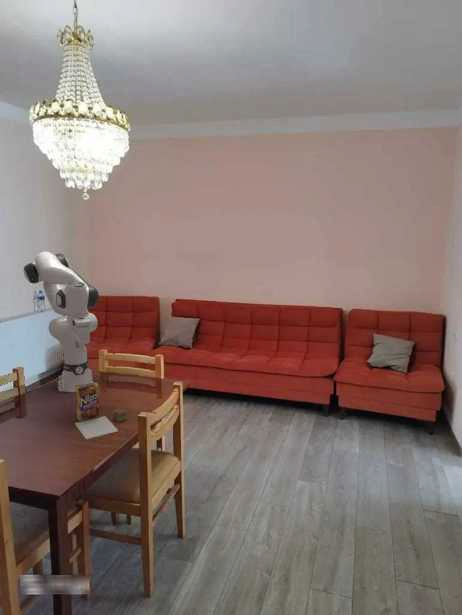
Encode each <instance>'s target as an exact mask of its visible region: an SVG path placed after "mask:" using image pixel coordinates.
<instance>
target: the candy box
mask: <svg viewBox="0 0 462 615" xmlns="http://www.w3.org/2000/svg"><path fill="white" fill-rule="evenodd" d="M93 382H94V383H89V384H83V385H77V386H76V392H75V404H76V406H75V407H76V419H77V420H78V422H82V421H86V420H91V419H95V418H99V417H100V403H99V402H100V401H99V400H100V398H99V396H100V395H99V383H97V382H96V381H93Z"/></svg>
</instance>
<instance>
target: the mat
mask: <svg viewBox="0 0 462 615" xmlns="http://www.w3.org/2000/svg"><path fill="white" fill-rule="evenodd" d="M74 425H75V426H76V428H77V429H78V430H79V432H80V433H81V435H82V436H83V438H84V439H85V440H91V439H95V438H98V437H103V436H106V435H111V434H115V433H118V432H119V430H118V428H117V427H116V426H115V425H114V424H113V423H112V422H111V421H110V420H109V418H107V416H106V415H103V416H99V417H97V418H92V419H88V420H83V421H78V422H75V423H74Z"/></svg>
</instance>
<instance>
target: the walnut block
mask: <svg viewBox="0 0 462 615" xmlns="http://www.w3.org/2000/svg"><path fill="white" fill-rule="evenodd" d="M112 420H113V421H114V422H115V421H116V422H117V423H121V422H123V421H125V420H127V410H125V409H122V408H119V409H116V410H113V411H112Z"/></svg>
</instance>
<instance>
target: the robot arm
mask: <svg viewBox="0 0 462 615" xmlns="http://www.w3.org/2000/svg"><path fill="white" fill-rule="evenodd" d="M23 276H24V277H25V279H26V280H27V281H28V283H31V284H38V283H40V282H42V287H43V290H44V294H45V296H46V298H47V300H48V302H49V305H50V306H51V308H52V310H53V312H54V313H56V314H57V315H60V316H58V317H55V318H54V319H51V320H50V321H49V324H48V332H49V334H50V336H52V337H53V338H54V339H56V341H58V342H59V343H60V345H61V347H62V349H63V350H62V351H63V357H64V362H63V371H62V372H61V375H58V381H57V387H58V388H57V389H58V390H57V391H58V392H66V393H76V386H77V385H83V384H89V383H94V382H95V381H93V373H92V370H91V369H90V368H89V361H88V350H87V349H88V348H87V347H86V345H87V344H90V341H91V340H90V339H91V334H90V333H92V332H94V331H95V330H97V328H98V323H99V322H98V321H99V320H98V319H97V316H96V315H94V314H95V313H91V312H90V311H89V308H94V307H95V306H96V305H97V304H98V302H99V301H100V294H99V292H98V290H97V288H95V286H93V285H91V284H90V283H88V282H87V281H86V280H85V279H84V278H83V277H82V276H81V275H80V274H79V273H77V272H76V271H75V270H72V269H70V264H69V260H68V259H67V257H66V256H65V255H64V254H62V253H56V254H54V253H52V252H49V251H42V252H40V253H37V255H36V256H35V260H34V261H32V262H29V263H28V264H26V265H24V267H23Z"/></svg>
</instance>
